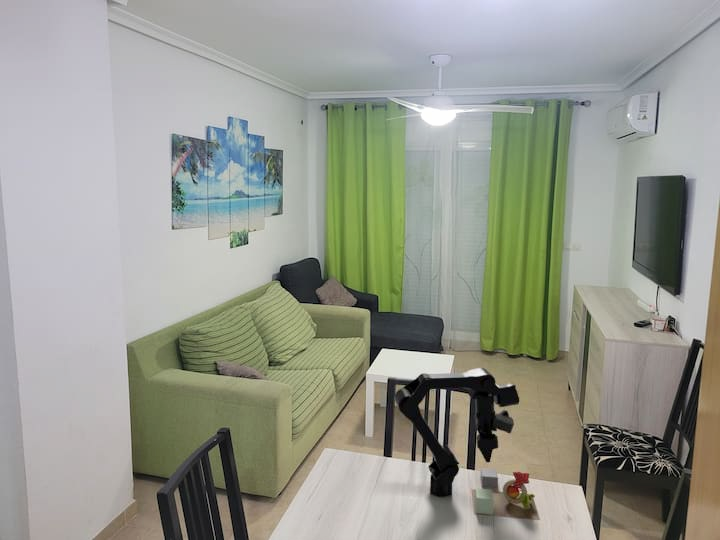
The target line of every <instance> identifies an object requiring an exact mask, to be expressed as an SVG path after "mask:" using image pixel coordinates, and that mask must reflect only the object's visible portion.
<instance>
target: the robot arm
mask: <svg viewBox="0 0 720 540" xmlns="http://www.w3.org/2000/svg"><path fill="white" fill-rule="evenodd" d="M516 386H517V385H516V384H514V383H513V382H511V383H506V384H500V385H498V384H497V383H496V379H495V377H494V375H492V373H490V372H489V371H488V369H486V368H484V367H476V368H472V369H469V370H467V371H466V372H457V373H456V372H452V373H451V372H450V373H426V372H425V373H421V374H419V375H418V376H417V377H416V378H415V379H413V380H411V381H410V382H407V384H405V385H404V386H403V387H402V388H400V389H398V390H397V391H396V392H395V393H394V396H393V397H394V399H393V400H394V402H395V404H396V406H397V408H398V410H399V411H400V413H401V414H402V415H403V416H404V417H405V418H406V419H407V420H408V421H410V422H411V423H412V425H413V426H414V427H415V429H416V430H417V433H419V436H421V438H422V440H423V441H424V443H425V444H426V446H427V447H428V449H429V450H430V452H431V454H432V457H433V459H434V460H433V461H432V462H431V463H430V464H429V465H428V470H429V472H430V478H429V479H430V481H429V482H430V483H429V484H430V485H429V494H430V495H433V496H435V497H437V498H445V497H450V496H453V483H454V480H455V477H456V476H458V474H459V471H460V467H459V465H460V462H459V461H458V459H457V457H456V456H455V454H454V452H452V450H451V448H450V447H449V445H448V444H446V445H445V446H443V445H442V444H441V443H440V441H439V440H438V438H437V437H436V435H435V433H434V432H433V430H432V429H431V428H430V426H429V424H428V423H427V421H426V420H425V418H424V416H423V415H422V412H421V410H420V406H419V405H420V404H421V403H422V402H423V400H424V399H425V396H427V394H428V393H429V392H430V390H444V389H445V390H448V389H453V390H454V389H469V390H470V391H469V392H468V393H467V395H468V396H469V397H470V398H471V400H474V403H475V414H474V422H475V428H476V431H477V433H478V434H477V436H476V446H477V449H478V450H479V452H480V453H481V455H482V457H483V458H484V461H485V463H491V459H492V456H493V450H495V449H498V448H499V440H498V439H499V438H498V436H497V434H496V433H493V432H497V429H498V431H499V430H500V431H503V432H506V433H507V434H511V433H512V431H513V428H514V426H515V422H514V419H513V418H512V416H510V415H509V411H508V410H505V409H503V410H502V411H501V412H499V413H496V409H495V406H498V407H499V408H505V407H510V406H518V405H519V403H520V396H519V392H518V391H517V388H516Z"/></svg>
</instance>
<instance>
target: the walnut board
mask: <svg viewBox="0 0 720 540" xmlns="http://www.w3.org/2000/svg"><path fill="white" fill-rule="evenodd" d="M492 492H493V498H494V505H493V515H492V514H481V513H476V511H475V489H474V488H473V489H471V497H472V498H471V499H472V507H473V514H474V515H482V516H489V517H491V516H492V517H502V518H503V517H504V518H511V519H512V518H514V519H524V520H534V521H535V520H536V521H541V518H540V515H539V512H538V508H537V505H536V502H535V499H534V498H535V497H532V500H529V505H530V508H529V509H528V508H527V509H525V508H524V503H519V504H514V503H510V504H509V503H508V500H507V499H506V498H505V496H504V493H503V491H497V490H496V491H495V490H492ZM521 493H522V492H520V494H519V496H518V497H517V498H519V497H520V495H521ZM529 494H530V493H527V495H529Z"/></svg>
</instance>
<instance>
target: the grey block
mask: <svg viewBox="0 0 720 540" xmlns="http://www.w3.org/2000/svg"><path fill="white" fill-rule="evenodd" d="M480 484H481V486H482V487H490V488H498V484H499V476H498V471H497V468H484V467H483V468H482V467H481V468H480Z"/></svg>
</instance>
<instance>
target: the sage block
mask: <svg viewBox="0 0 720 540" xmlns="http://www.w3.org/2000/svg"><path fill="white" fill-rule="evenodd" d="M492 491H493V489H487V488H476V487H475V511H476V513H481V514H492V515H493V505H494V498H493V492H492Z"/></svg>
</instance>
